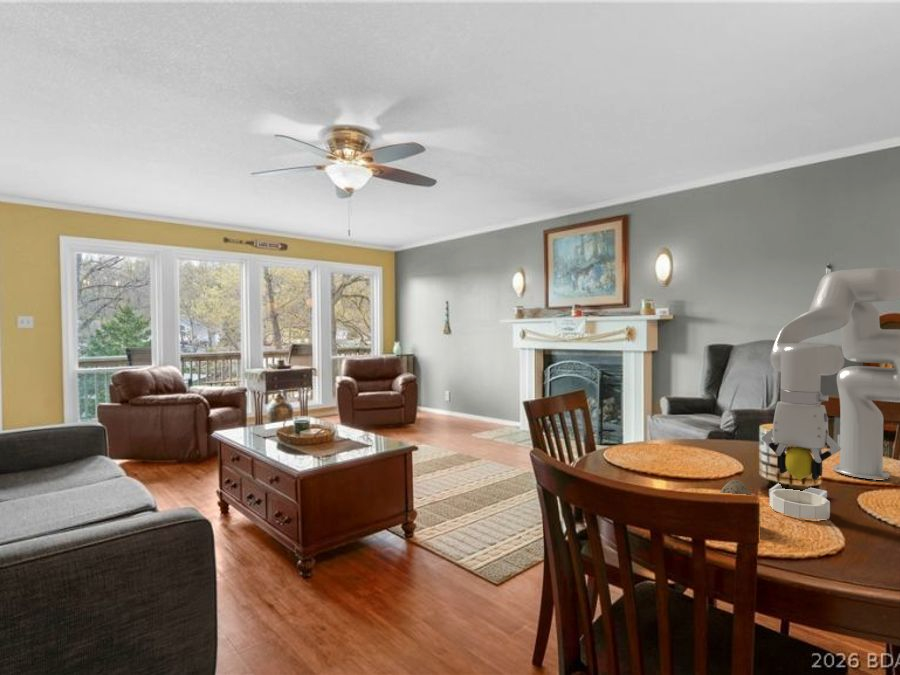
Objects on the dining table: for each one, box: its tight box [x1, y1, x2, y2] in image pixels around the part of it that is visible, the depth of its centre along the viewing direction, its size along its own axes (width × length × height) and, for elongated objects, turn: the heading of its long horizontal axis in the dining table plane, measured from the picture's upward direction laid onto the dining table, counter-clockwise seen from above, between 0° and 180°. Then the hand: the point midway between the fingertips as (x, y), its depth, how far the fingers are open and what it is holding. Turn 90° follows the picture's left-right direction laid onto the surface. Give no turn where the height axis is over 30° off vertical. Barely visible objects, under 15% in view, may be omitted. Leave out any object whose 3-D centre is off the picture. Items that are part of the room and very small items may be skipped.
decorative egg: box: [719, 479, 753, 496], centre depth 104 cm, size 7×7×10 cm
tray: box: [768, 482, 828, 499], centre depth 121 cm, size 10×10×2 cm
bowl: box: [769, 488, 831, 521], centre depth 111 cm, size 11×11×4 cm
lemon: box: [785, 446, 814, 481], centre depth 111 cm, size 6×6×8 cm
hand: (799, 474), depth 111 cm, fingers closed on lemon, 5 cm apart
